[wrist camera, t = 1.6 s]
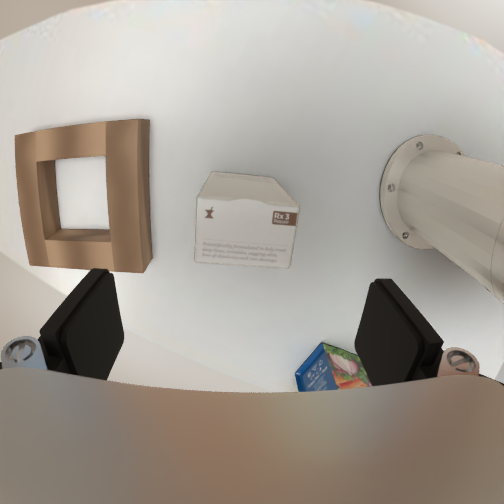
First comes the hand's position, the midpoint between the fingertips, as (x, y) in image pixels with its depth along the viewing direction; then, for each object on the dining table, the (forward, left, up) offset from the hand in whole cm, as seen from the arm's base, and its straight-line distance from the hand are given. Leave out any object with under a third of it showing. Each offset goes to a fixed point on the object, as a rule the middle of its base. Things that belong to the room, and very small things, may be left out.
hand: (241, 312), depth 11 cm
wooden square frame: (+16, 0, -20) cm, 25 cm away
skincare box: (0, 0, -20) cm, 20 cm away
